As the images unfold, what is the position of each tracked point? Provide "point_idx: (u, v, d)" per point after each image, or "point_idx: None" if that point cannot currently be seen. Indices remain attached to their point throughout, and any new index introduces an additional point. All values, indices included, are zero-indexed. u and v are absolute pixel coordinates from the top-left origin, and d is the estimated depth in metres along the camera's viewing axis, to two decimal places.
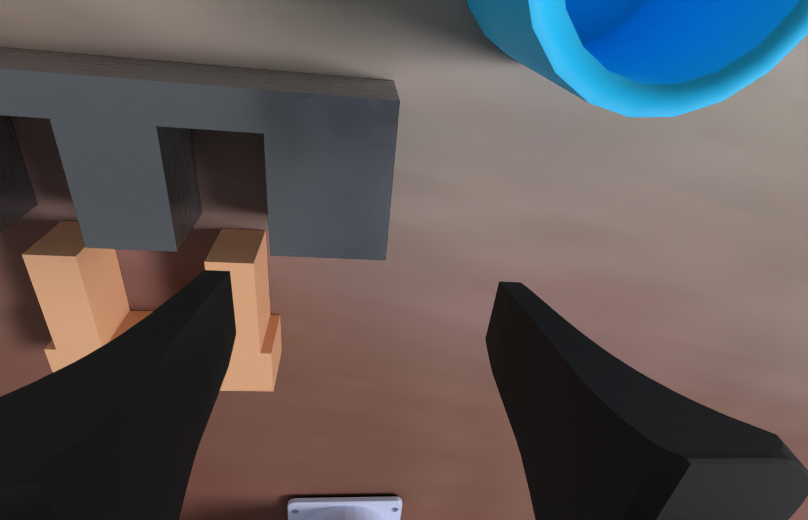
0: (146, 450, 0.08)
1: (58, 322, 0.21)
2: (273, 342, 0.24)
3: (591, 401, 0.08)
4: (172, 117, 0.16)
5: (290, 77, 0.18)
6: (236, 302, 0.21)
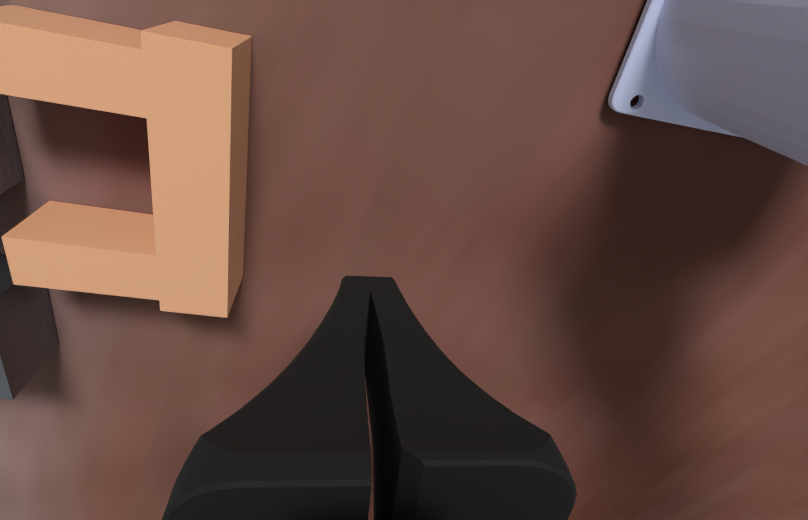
0: None
1: (113, 285, 0.18)
2: (153, 28, 0.14)
3: (389, 399, 0.08)
4: None
5: None
6: (35, 60, 0.14)
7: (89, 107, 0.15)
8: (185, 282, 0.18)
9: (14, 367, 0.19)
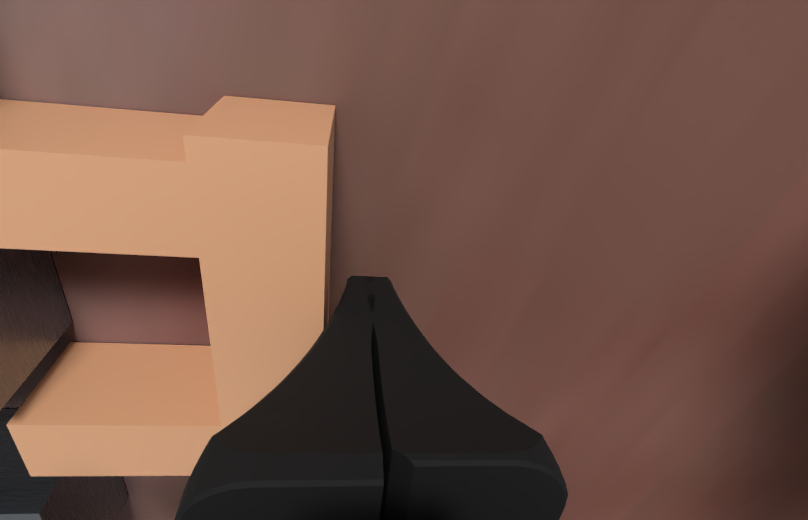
0: None
1: (164, 464, 0.13)
2: (200, 122, 0.09)
3: (382, 399, 0.08)
4: None
5: None
6: (23, 195, 0.09)
7: (112, 250, 0.10)
8: None
9: None
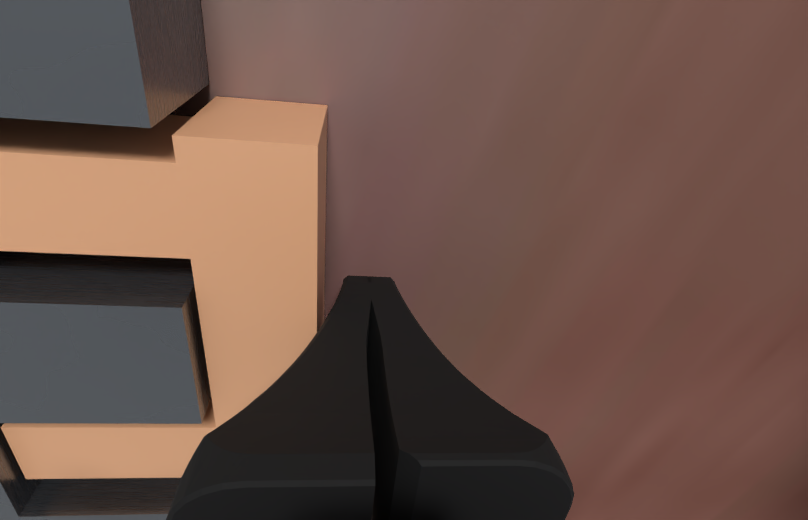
0: None
1: (160, 466, 0.13)
2: (190, 123, 0.09)
3: (387, 399, 0.08)
4: None
5: None
6: (12, 198, 0.09)
7: (103, 251, 0.09)
8: None
9: None
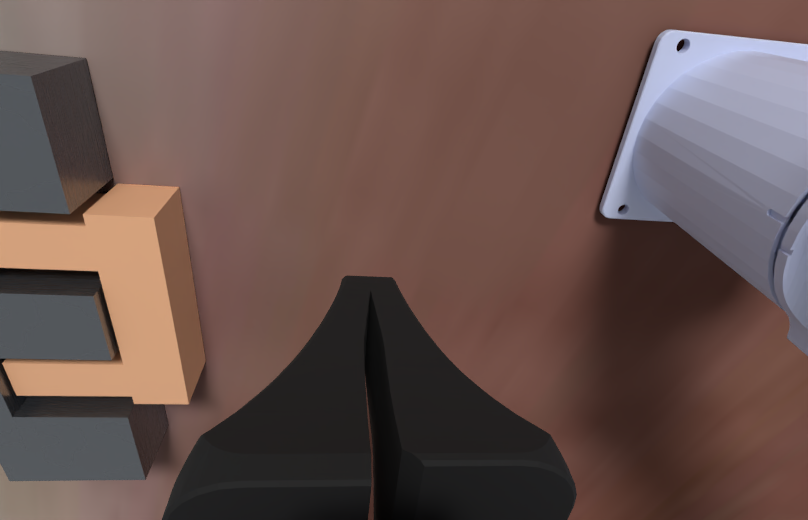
0: None
1: (94, 388, 0.22)
2: (95, 205, 0.18)
3: (389, 399, 0.08)
4: None
5: None
6: (8, 243, 0.18)
7: (54, 267, 0.19)
8: (150, 381, 0.22)
9: (144, 454, 0.25)
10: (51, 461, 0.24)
